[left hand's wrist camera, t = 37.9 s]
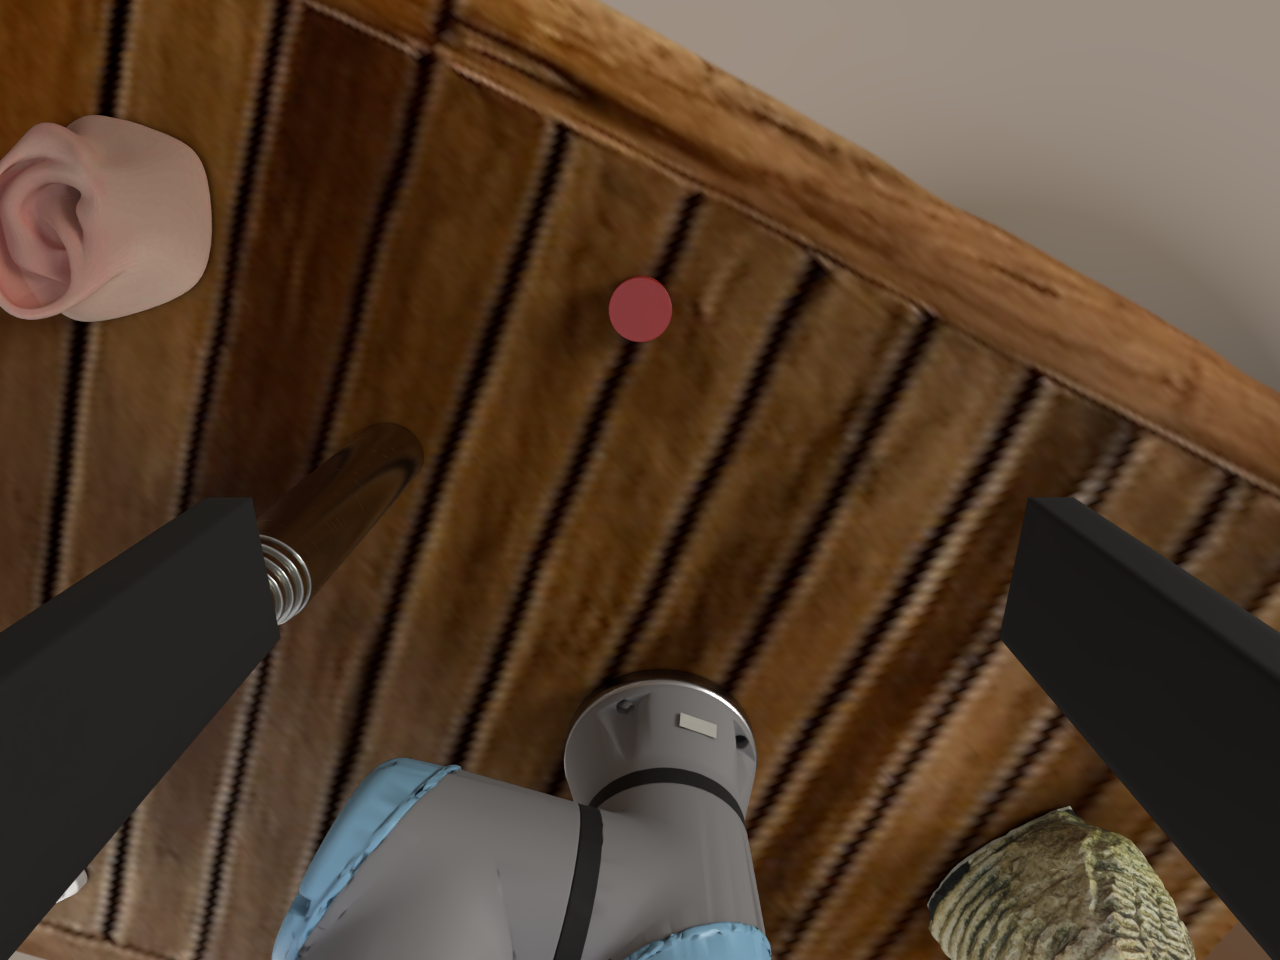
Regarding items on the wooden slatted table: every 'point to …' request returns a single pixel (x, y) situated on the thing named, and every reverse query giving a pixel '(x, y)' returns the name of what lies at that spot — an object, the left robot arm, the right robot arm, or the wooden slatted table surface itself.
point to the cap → (640, 308)
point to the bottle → (333, 513)
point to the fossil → (1057, 899)
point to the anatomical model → (100, 220)
